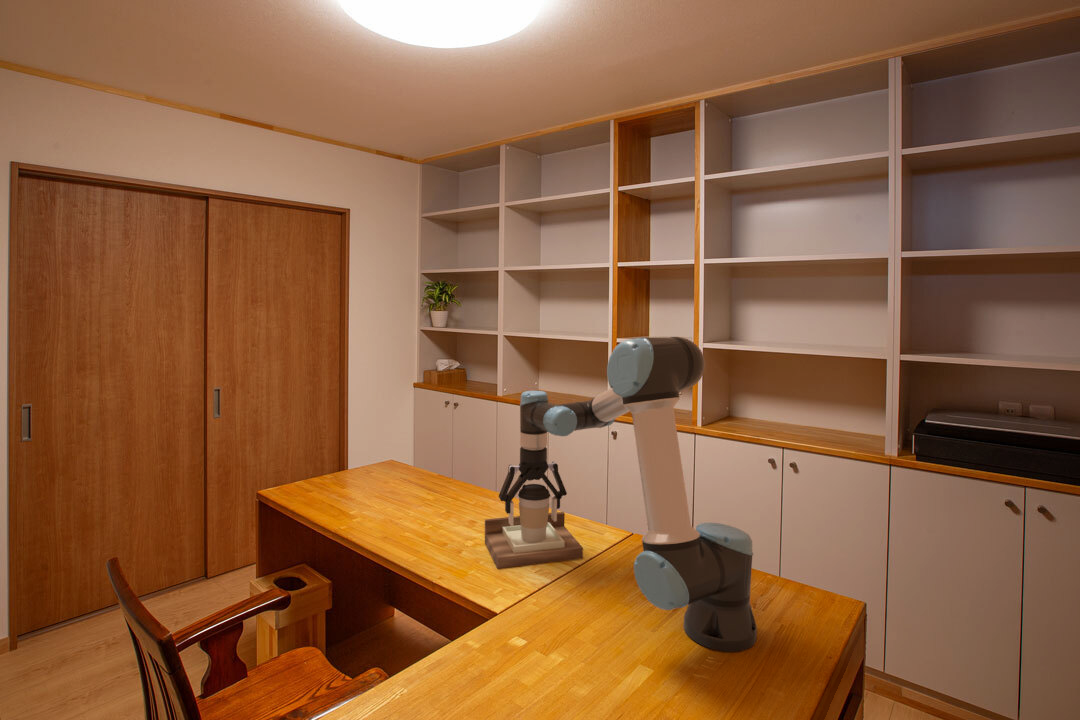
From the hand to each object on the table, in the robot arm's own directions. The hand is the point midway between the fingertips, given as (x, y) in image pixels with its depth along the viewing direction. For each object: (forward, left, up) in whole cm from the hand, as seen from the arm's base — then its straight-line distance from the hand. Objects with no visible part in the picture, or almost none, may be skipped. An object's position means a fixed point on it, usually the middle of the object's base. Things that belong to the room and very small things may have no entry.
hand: (532, 521), depth 168 cm
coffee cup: (0, 0, -5) cm, 5 cm away
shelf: (0, 0, -8) cm, 8 cm away
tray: (0, 0, -5) cm, 5 cm away
